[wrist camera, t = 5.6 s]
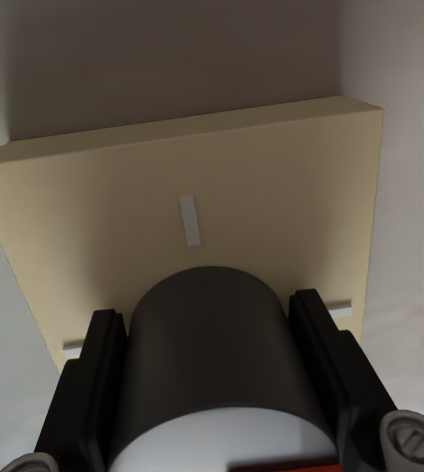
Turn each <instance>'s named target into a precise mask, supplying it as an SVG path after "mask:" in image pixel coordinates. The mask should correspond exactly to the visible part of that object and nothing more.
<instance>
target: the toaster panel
mask: <svg viewBox="0 0 424 472" xmlns="http://www.w3.org/2000/svg"><path fill="white" fill-rule="evenodd" d="M383 118H384V108H381V107H378V106H375V105H372V104H369V103H366V102H363V101H359V100H356V99H353V98H350V97H347V96H344V95H340V96H332V97H325V98H318V99H311V100H304V101H297V102H290V103H283V104H275V105H268V106H261V107H254V108H247V109H240V110H233V111H226V112H218V113H211V114H204V115H197V116H190V117H183V118H176V119H169V120H161V121H154V122H147V123H140V124H133V125H126V126H119V127H112V128H105V129H97V130H90V131H83V132H76V133H69V134H62V135H55V136H48V137H40V138H33V139H26V140H19V141H12V142H8V143H6V144H5V145H3V146H1V147H0V245H1V247H2V249H3V251H4V253H5V256H6V258H7V260H8V262H9V264H10V266H11V269H12V271H13V273H14V275H15V277H16V280H17V282H18V284H19V286H20V288H21V291H22V293H23V295H24V297H25V299H26V302H27V304H28V306H29V308H30V310H31V313H32V315H33V317H34V319H35V321H36V323H37V326H38V328H39V330H40V332H41V334H42V337H43V339H44V341H45V343H46V345H47V348H48V350H49V352H50V354H51V356H52V359H53V361H54V363H55V365H56V367H57V370H58V372H59V374H60V376H61V373H62V370H63V368H64V365H65V363H66V361H67V360H68V359H74V358H79V356H80V353H81V350H82V346H83V343H84V340H85V337H86V334H87V330H88V327H89V324H90V321H91V318H92V315H93V312H94V311H95V310H104V309H115V311H116V313H122V316H123V320H124V324H125V328H126V333H127V337H128V334H129V328H130V323H131V319H132V315H133V312H134V310H135V308H136V306H137V304H138V303H139V301H140V300H141V299H142V297H143V296H144V295H145V294H146V293H147V292H148V291H149V290H150V289H151V288H152V287H153V286H154V285H156V284H157V283H159V282H160V281H162V280H163V279H165V278H167V277H169V276H171V275H173V274H175V273H178V272H181V271H184V270H188V269H192V268H197V267H205V266H219V267H228V268H233V269H237V270H241V271H244V272H246V273H249V274H251V275H253V276H255V277H257V278H258V279H260V280H261V281H263V282H264V283H265V284H266V285H268V286H269V287H270V288H271V289H272V290H273V292H274V293H275V294H276V295H277V297H278V299H279V300H280V302H281V304H282V307H283V310H284V312H285V315H286V317H287V320H288V314H289V297H290V296H291V295H295V292H296V290H302V289H312V288H315V289H316V290H317V292H318V293H319V295H320V297H321V299H322V301H323V302H324V304H325V306H326V308H327V309H328V311H329V313H330V315H331V317H332V318H333V320H334V322H335V324H336V326H337V327H338V329H339V330H347V329H348V330H349V331H351V333H352V334H353V335H354V337H355V339H356V340H357V342H358V344H359V345H360V347H361V339H362V329H363V319H364V309H365V299H366V288H367V278H368V268H369V258H370V248H371V238H372V228H373V218H374V208H375V198H376V188H377V178H378V168H379V158H380V148H381V138H382V128H383Z"/></svg>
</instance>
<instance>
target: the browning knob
mask: <svg viewBox="0 0 424 472" xmlns="http://www.w3.org/2000/svg"><path fill="white" fill-rule="evenodd" d="M339 464H340V455H339V449H338V446H337V443H336V441H335V438H334V436H333V433H332V431H331V428H330V426H329V423H328V421H327V418H326V416H325V413H324V411H323V408H322V405H321V403H320V400H319V398H318V395H317V393H316V390H315V388H314V385H313V383H312V380H311V378H310V375H309V373H308V370H307V368H306V365H305V363H304V360H303V357H302V355H301V352H300V350H299V347H298V345H297V342H296V340H295V337H294V335H293V332H292V330H291V327H290V325H289V322H288V320H287V317H286V315H285V312H284V310H283V307H282V304H281V302H280V300H279V299H278V297H277V295H276V294H275V293H274V292H273V290H272V289H271V288H270V287H269V286H268V285H266V284H265V283H264V282H263V281H261V280H260V279H258V278H257V277H255V276H253V275H251V274H249V273H246V272H244V271H241V270H237V269H233V268H228V267H219V266H205V267H197V268H192V269H188V270H184V271H181V272H178V273H175V274H173V275H171V276H169V277H167V278H165V279H163V280H162V281H160V282H159V283H157V284H156V285H154V286H153V287H152V288H151V289H150V290H149V291H148V292H147V293H146V294H145V295H144V296H143V297H142V299H141V300H140V301H139V303H138V304H137V306H136V308H135V310H134V312H133V315H132V319H131V323H130V328H129V334H128V340H127V346H126V352H125V358H124V364H123V369H122V375H121V381H120V387H119V393H118V399H117V405H116V411H115V416H114V422H113V428H112V434H111V440H110V446H109V452H108V458H107V464H106V469H105V472H343V471H342V469H341V466H340V465H339Z"/></svg>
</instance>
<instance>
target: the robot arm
mask: <svg viewBox="0 0 424 472" xmlns="http://www.w3.org/2000/svg"><path fill="white" fill-rule="evenodd" d="M288 322H289V325H290V327H291V330H292V332H293V335H294V337H295V340H296V342H297V345H298V347H299V350H300V352H301V355H302V357H303V360H304V363H305V365H306V368H307V370H308V373H309V375H310V378H311V380H312V383H313V385H314V388H315V390H316V393H317V395H318V398H319V400H320V403H321V405H322V408H323V411H324V413H325V416H326V418H327V421H328V423H329V426H330V428H331V431H332V433H333V436H334V438H335V441H336V443H337V446H338V449H339V455H340V464H339V465H340V466H341V469H342V471H343V472H424V415H422V414H420V413H418V412H414V411H410V410H398V409H397V407H396V406H395V404H394V402H393V401H392V399H391V397H390V396H389V394H388V392H387V391H386V389H385V387H384V386H383V384H382V382H381V381H380V379H379V377H378V376H377V374H376V372H375V370H374V369H373V367H372V365H371V364H370V362H369V360H368V359H367V357H366V355H365V354H364V352H363V350H362V349H361V347H360V345H359V344H358V342H357V340H356V339H355V337H354V335H353V334H352V333H351V331H349V330H348V329H347V330H339V329H338V327H337V326H336V324H335V322H334V320H333V318H332V317H331V315H330V313H329V311H328V309H327V308H326V306H325V304H324V302H323V301H322V299H321V297H320V295H319V293H318V292H317V290H316V289H315V288H312V289H302V290H296V292H295V295H291V296H290V297H289V314H288ZM127 340H128V337H127V333H126V328H125V324H124V320H123V316H122V313H116V311H115V309H104V310H95V311H94V312H93V315H92V318H91V321H90V324H89V327H88V330H87V334H86V337H85V340H84V343H83V346H82V350H81V353H80V356H79V358H74V359H68V360H67V361H66V363H65V365H64V368H63V370H62V373H61V376H60V379H59V382H58V385H57V387H56V390H55V393H54V396H53V399H52V402H51V404H50V407H49V410H48V413H47V416H46V419H45V421H44V424H43V427H42V430H41V433H40V436H39V438H38V441H37V444H36V447H35V450H34V452H33V453H29V454H25V455H23V456H21V457H19V458H17V459H15V460H13V461H12V462H10V463H9V464H8V465H7V466H5V467H4V468H3V469H2V470H1V471H0V472H105V469H106V464H107V458H108V452H109V446H110V440H111V434H112V428H113V422H114V416H115V411H116V405H117V399H118V393H119V387H120V381H121V375H122V369H123V364H124V358H125V352H126V346H127Z"/></svg>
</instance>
